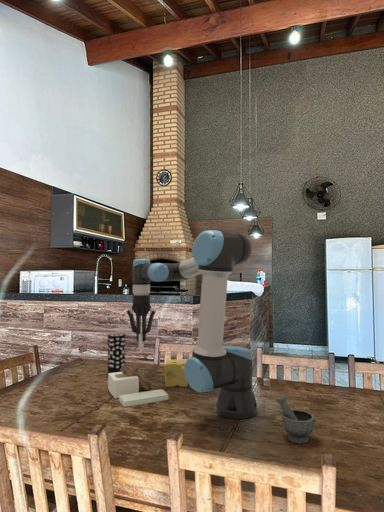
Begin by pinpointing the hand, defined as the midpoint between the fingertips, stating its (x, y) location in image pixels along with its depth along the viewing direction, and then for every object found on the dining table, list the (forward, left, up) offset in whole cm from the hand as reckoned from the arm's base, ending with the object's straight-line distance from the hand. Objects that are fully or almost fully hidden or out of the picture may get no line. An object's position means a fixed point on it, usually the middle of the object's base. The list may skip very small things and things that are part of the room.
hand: (141, 348), depth 158 cm
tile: (0, +3, -13) cm, 13 cm away
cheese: (+1, -17, -18) cm, 25 cm away
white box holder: (0, +8, -17) cm, 19 cm away
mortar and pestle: (-65, -29, -18) cm, 73 cm away
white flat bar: (-13, +3, -17) cm, 22 cm away
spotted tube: (+24, +5, -18) cm, 30 cm away
